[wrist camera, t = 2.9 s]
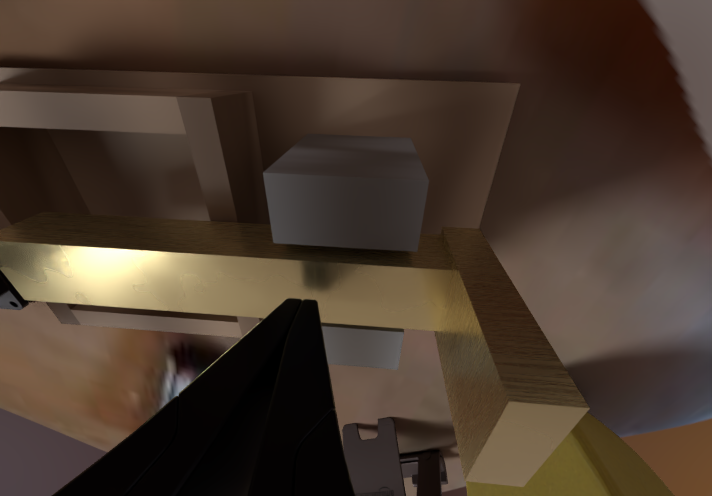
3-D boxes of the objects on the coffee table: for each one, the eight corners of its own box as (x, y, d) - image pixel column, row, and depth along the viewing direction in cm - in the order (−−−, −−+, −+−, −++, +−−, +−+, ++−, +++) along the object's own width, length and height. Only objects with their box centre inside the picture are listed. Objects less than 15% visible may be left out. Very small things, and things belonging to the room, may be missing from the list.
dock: (104, 278, 18) (-9, 363, 12) (-16, 66, 12) (-321, 64, 7) (450, 302, 16) (480, 406, 11) (509, 82, 11) (627, 94, 6)
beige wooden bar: (81, 272, 12) (-139, 419, 7) (39, 203, 10) (-289, 332, 5) (459, 298, 11) (523, 486, 6) (479, 228, 9) (590, 408, 4)
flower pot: (539, 349, 18) (655, 553, 10) (620, 402, 20) (765, 602, 13) (440, 406, 22) (471, 582, 15) (516, 444, 24) (578, 615, 17)
